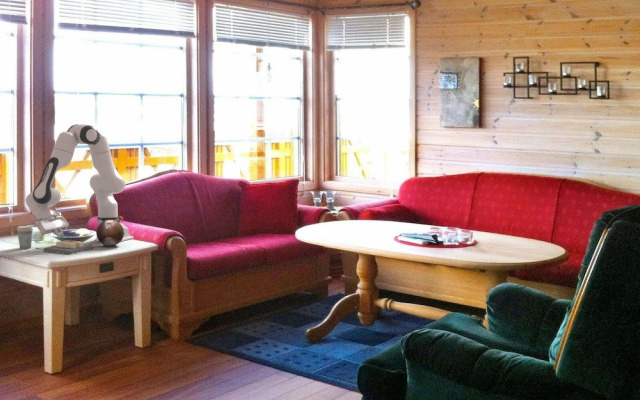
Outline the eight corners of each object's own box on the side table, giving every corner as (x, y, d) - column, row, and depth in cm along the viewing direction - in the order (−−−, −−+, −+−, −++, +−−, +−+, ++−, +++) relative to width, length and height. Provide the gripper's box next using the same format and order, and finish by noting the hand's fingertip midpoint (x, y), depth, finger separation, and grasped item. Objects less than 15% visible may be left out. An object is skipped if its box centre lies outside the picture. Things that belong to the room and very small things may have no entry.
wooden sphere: (98, 249, 450) (97, 222, 448) (95, 244, 464) (94, 218, 462) (126, 247, 456) (125, 221, 454) (122, 243, 469) (121, 217, 468)
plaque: (66, 240, 450) (83, 241, 445) (66, 244, 450) (83, 246, 446) (56, 242, 442) (74, 244, 438) (56, 247, 443) (74, 249, 438)
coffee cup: (19, 250, 444) (19, 228, 442) (15, 247, 451) (14, 226, 449) (35, 248, 449) (35, 227, 448) (31, 246, 456) (30, 225, 454)
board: (65, 246, 457) (65, 242, 456) (92, 249, 450) (92, 245, 450) (43, 251, 440) (43, 248, 440) (70, 254, 433) (70, 250, 433)
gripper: (36, 216, 437) (51, 235, 435) (62, 211, 456) (76, 230, 454) (30, 224, 440) (45, 243, 437) (55, 219, 459) (70, 237, 456)
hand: (61, 236), depth 446 cm, fingers closed
